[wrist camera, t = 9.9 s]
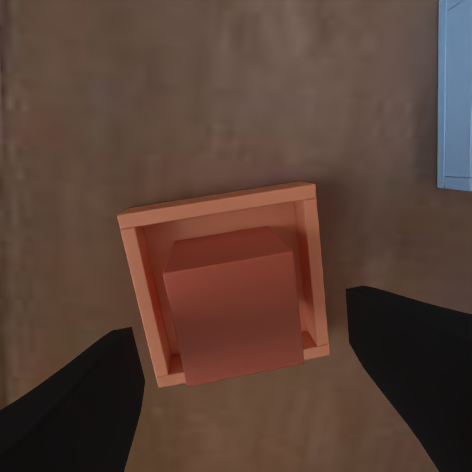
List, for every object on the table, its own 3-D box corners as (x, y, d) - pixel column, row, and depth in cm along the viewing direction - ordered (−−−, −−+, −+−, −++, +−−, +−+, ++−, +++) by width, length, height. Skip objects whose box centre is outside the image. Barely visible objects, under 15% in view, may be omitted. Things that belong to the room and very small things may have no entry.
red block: (278, 309, 16) (305, 364, 12) (191, 325, 16) (186, 387, 11) (267, 225, 15) (293, 251, 11) (174, 240, 15) (161, 273, 10)
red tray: (315, 333, 17) (330, 355, 15) (163, 361, 17) (158, 388, 15) (301, 180, 15) (315, 183, 13) (128, 208, 15) (116, 215, 13)
